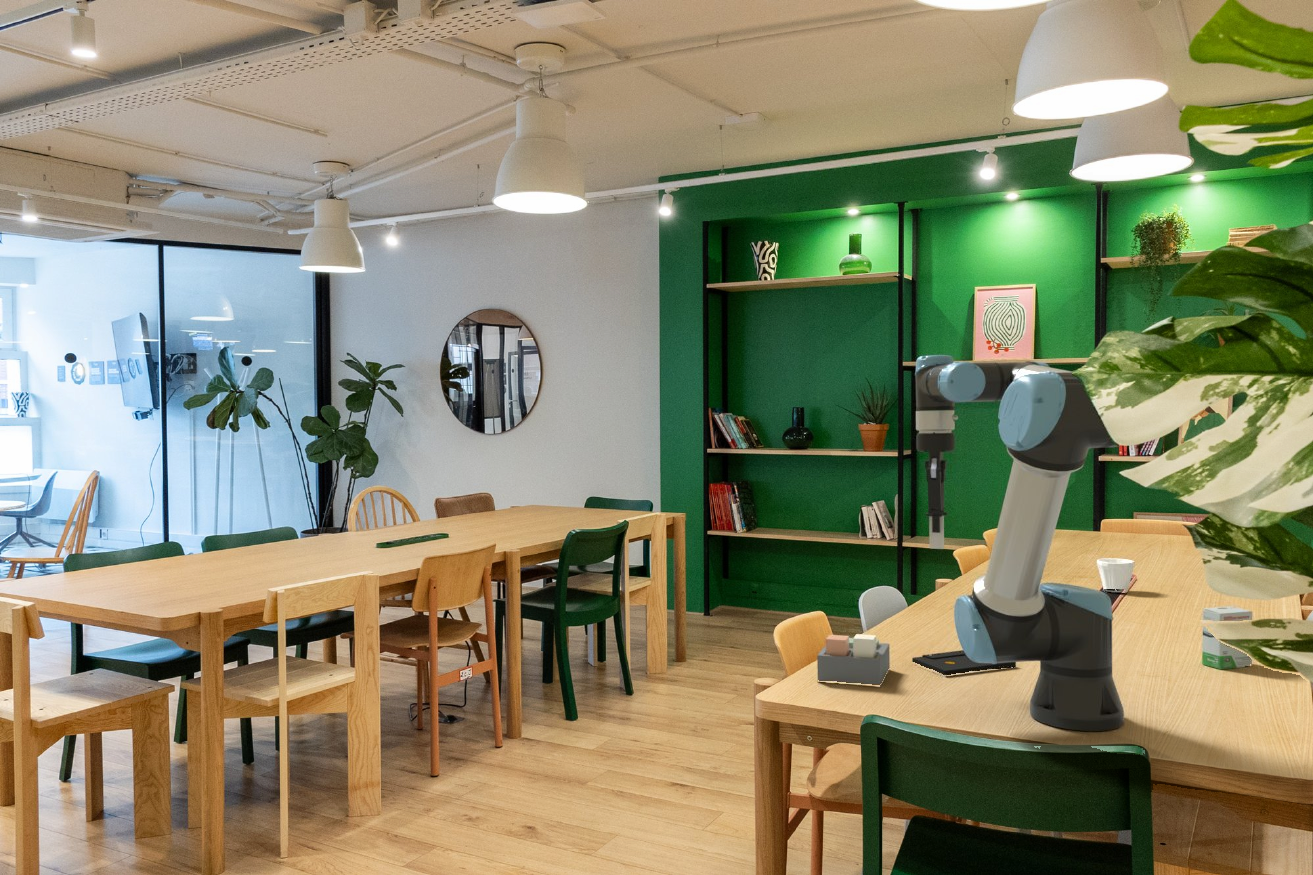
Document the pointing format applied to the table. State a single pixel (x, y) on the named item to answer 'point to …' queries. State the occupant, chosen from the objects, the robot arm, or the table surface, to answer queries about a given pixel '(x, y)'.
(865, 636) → the cream block
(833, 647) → the pink block
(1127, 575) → the cup
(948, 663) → the black flat panel
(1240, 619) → the ink box
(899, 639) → the table surface
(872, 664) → the grey open box
